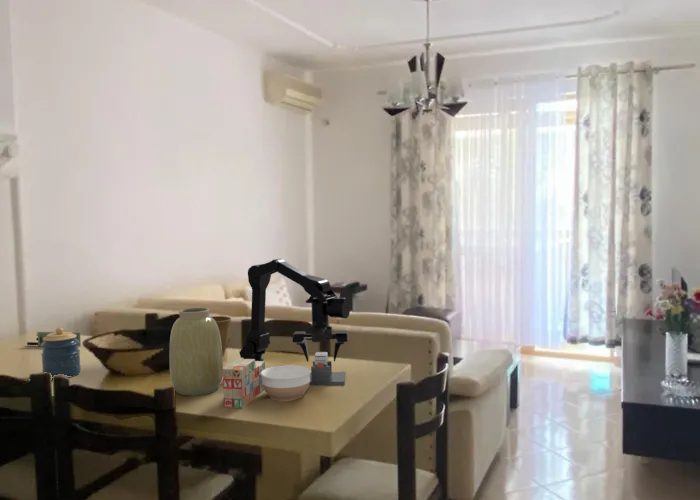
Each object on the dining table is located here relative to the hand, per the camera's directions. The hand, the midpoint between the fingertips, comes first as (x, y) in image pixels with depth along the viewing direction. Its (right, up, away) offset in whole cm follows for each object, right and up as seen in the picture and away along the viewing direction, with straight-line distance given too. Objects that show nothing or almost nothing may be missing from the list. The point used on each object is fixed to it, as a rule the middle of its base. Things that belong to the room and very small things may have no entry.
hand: (321, 361), depth 223 cm
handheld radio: (-122, -5, +66) cm, 138 cm away
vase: (-41, -9, -6) cm, 42 cm away
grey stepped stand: (0, -7, +2) cm, 7 cm away
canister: (-96, -8, +17) cm, 98 cm away
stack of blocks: (-23, -9, -15) cm, 29 cm away
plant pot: (-45, -5, +37) cm, 58 cm away
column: (0, -6, 0) cm, 6 cm away
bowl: (-10, -9, -14) cm, 20 cm away
